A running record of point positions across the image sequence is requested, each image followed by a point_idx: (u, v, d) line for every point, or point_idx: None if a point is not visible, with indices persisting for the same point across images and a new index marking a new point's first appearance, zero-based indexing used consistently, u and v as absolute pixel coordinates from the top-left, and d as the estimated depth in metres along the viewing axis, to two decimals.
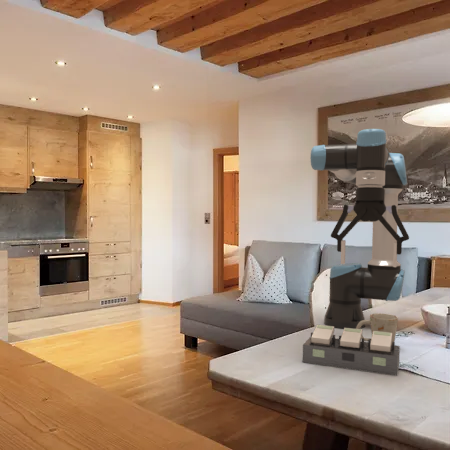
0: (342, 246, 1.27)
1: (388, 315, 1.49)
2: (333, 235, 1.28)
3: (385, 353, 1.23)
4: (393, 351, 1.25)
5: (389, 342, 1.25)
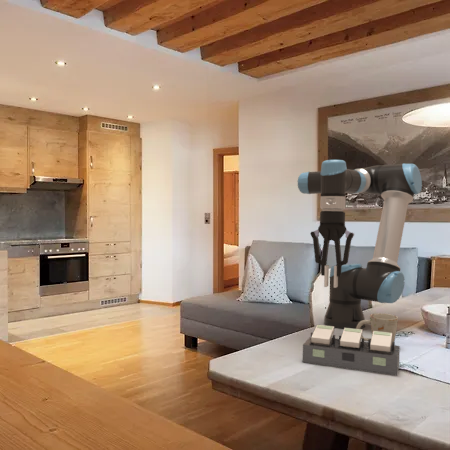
0: (325, 271, 1.42)
1: (388, 315, 1.49)
2: (317, 260, 1.43)
3: (385, 353, 1.23)
4: (393, 351, 1.25)
5: (389, 342, 1.25)
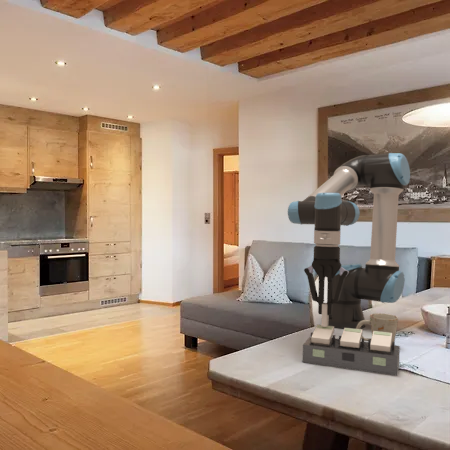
0: (323, 310, 1.35)
1: (388, 315, 1.49)
2: (314, 298, 1.36)
3: (385, 353, 1.23)
4: (393, 351, 1.25)
5: (389, 342, 1.25)
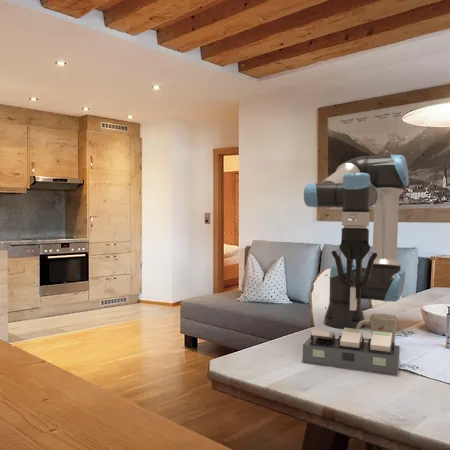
0: (351, 293, 1.31)
1: (388, 315, 1.49)
2: (342, 281, 1.33)
3: (385, 353, 1.23)
4: (393, 351, 1.25)
5: (389, 342, 1.25)
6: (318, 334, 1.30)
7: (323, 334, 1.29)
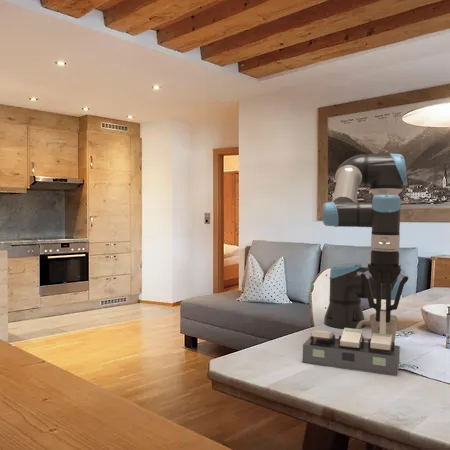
0: (381, 317, 1.29)
1: None
2: (372, 305, 1.30)
3: (385, 353, 1.23)
4: (393, 351, 1.25)
5: (389, 341, 1.25)
6: (318, 335, 1.30)
7: (323, 335, 1.29)
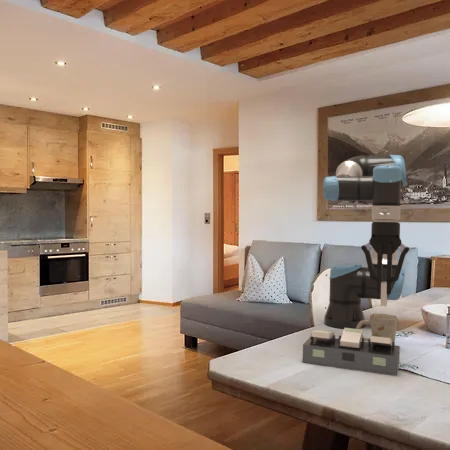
0: (382, 288, 1.29)
1: (388, 315, 1.49)
2: (372, 276, 1.30)
3: (385, 353, 1.23)
4: (393, 351, 1.25)
5: None
6: (318, 336, 1.30)
7: (323, 336, 1.29)
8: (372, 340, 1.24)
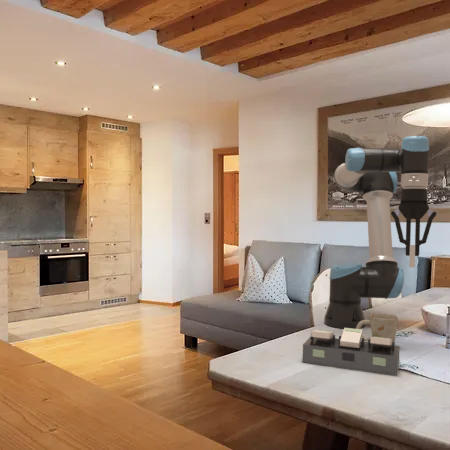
0: (411, 251, 1.38)
1: (388, 315, 1.49)
2: (402, 240, 1.39)
3: (385, 353, 1.23)
4: (393, 351, 1.25)
5: None
6: (318, 336, 1.30)
7: (323, 336, 1.29)
8: (372, 341, 1.24)
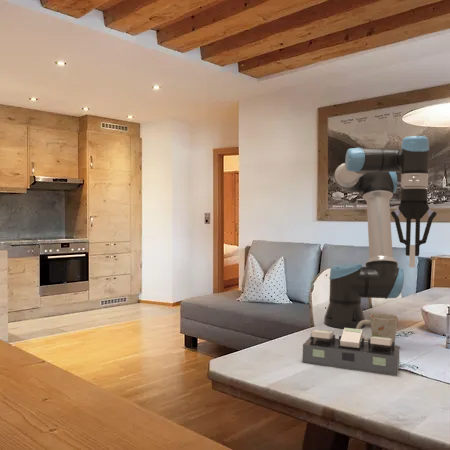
0: (411, 251, 1.38)
1: (388, 315, 1.49)
2: (402, 240, 1.39)
3: (385, 353, 1.23)
4: (393, 351, 1.25)
5: (389, 339, 1.25)
6: (318, 336, 1.30)
7: (323, 336, 1.29)
8: (372, 342, 1.24)
